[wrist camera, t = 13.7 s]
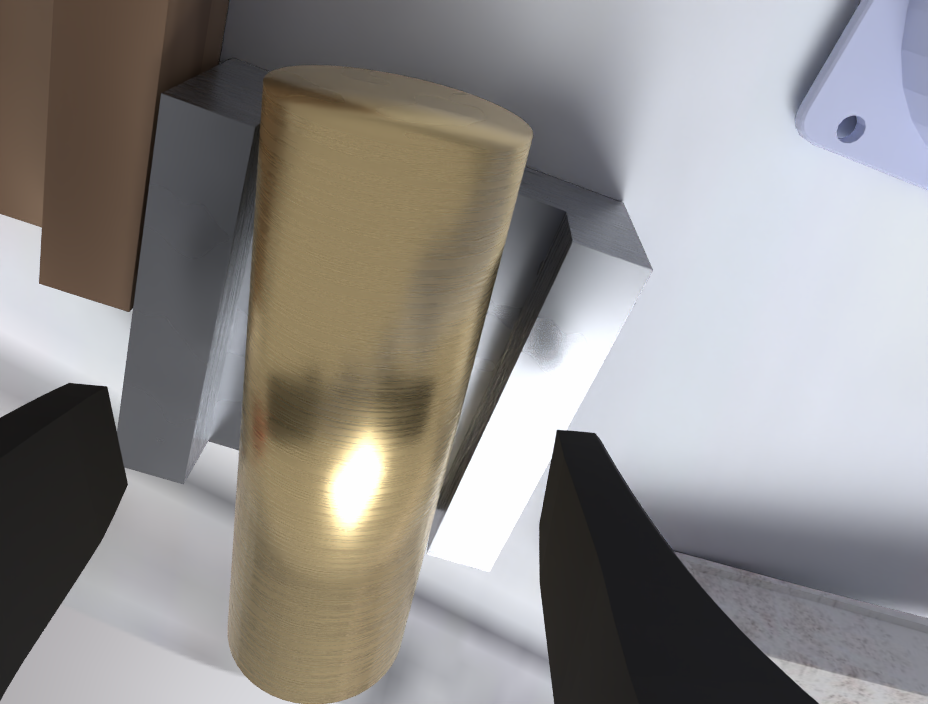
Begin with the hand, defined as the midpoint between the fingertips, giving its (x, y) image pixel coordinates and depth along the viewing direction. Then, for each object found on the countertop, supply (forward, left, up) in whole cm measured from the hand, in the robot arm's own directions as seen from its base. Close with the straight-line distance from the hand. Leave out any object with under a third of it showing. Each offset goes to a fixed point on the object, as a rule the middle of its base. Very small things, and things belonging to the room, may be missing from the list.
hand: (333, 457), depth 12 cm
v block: (0, 0, -6) cm, 6 cm away
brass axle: (0, +1, -2) cm, 2 cm away
